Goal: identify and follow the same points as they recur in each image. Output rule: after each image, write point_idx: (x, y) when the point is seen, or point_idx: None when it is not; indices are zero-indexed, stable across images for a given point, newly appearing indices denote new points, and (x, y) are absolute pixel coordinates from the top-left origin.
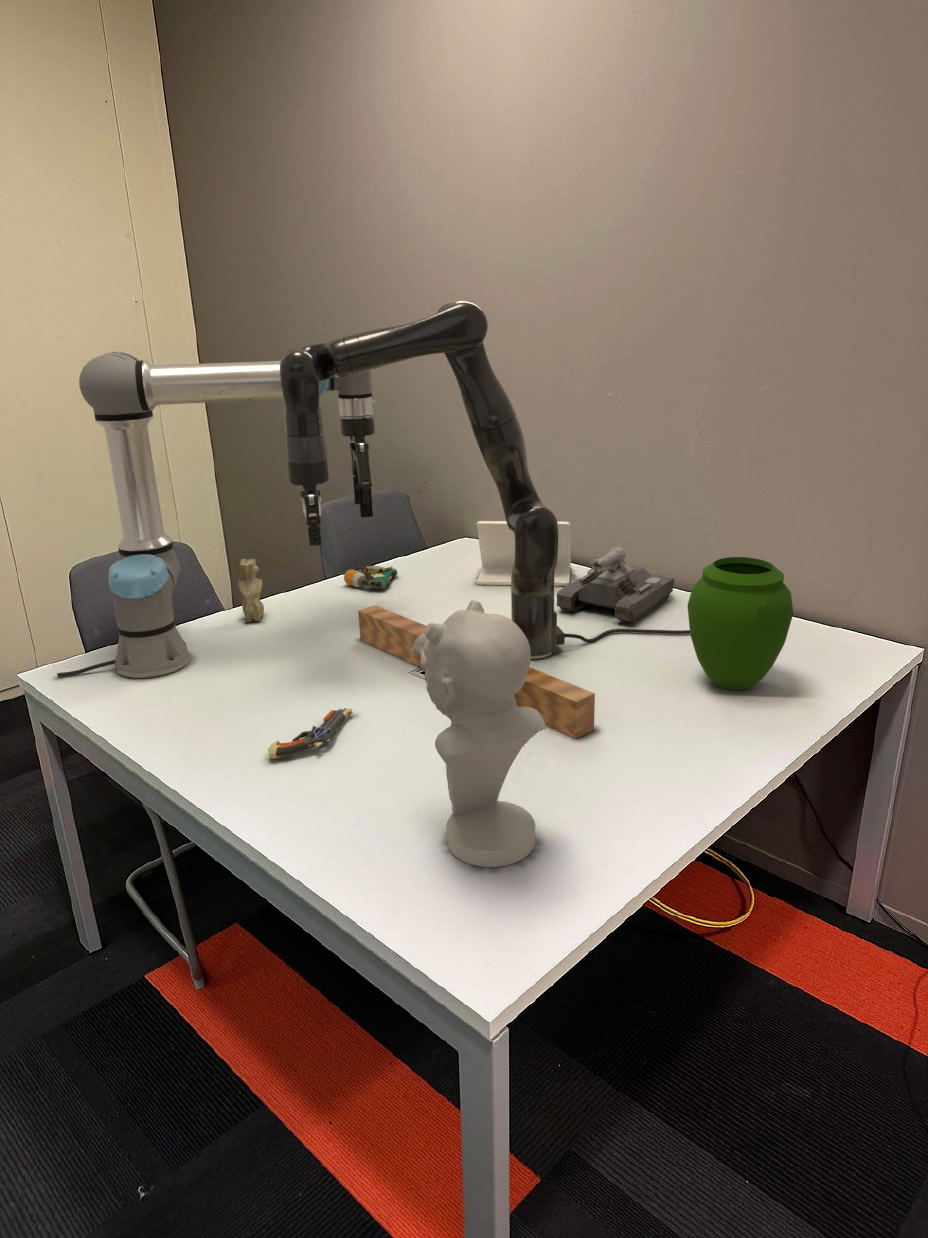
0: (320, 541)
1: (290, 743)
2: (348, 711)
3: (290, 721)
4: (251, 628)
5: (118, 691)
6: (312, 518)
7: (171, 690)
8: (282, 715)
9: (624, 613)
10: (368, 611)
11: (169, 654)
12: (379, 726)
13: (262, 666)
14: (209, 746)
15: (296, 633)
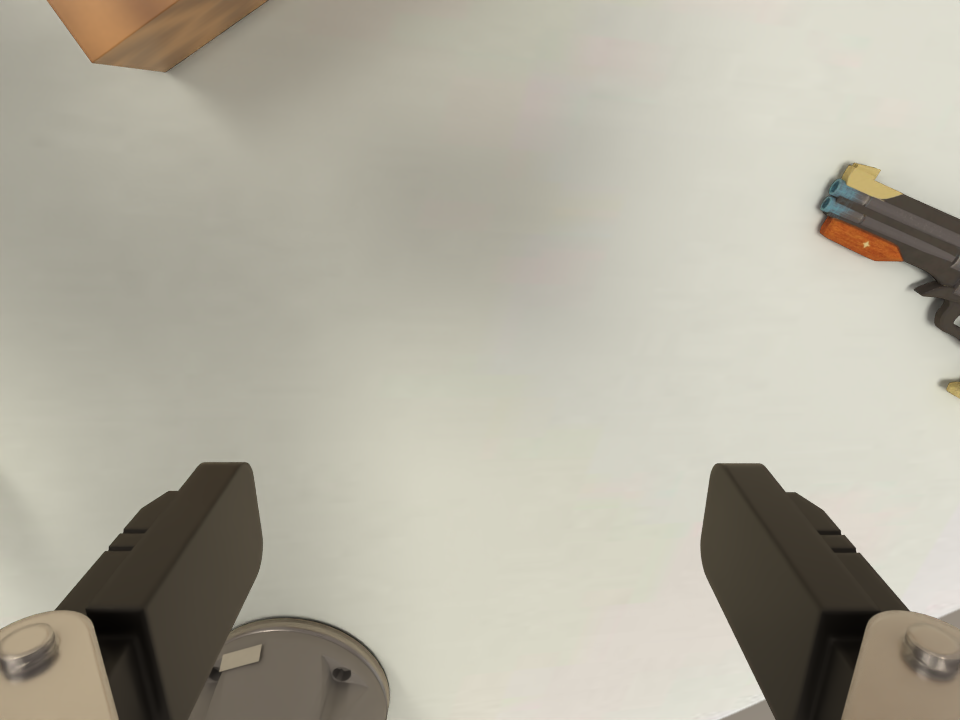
0: (770, 480)
1: None
2: (873, 179)
3: (793, 350)
4: (18, 468)
5: None
6: (174, 659)
7: (479, 637)
8: (745, 371)
9: None
10: (111, 6)
11: (331, 687)
12: (956, 78)
13: (366, 428)
14: None
15: (76, 321)
